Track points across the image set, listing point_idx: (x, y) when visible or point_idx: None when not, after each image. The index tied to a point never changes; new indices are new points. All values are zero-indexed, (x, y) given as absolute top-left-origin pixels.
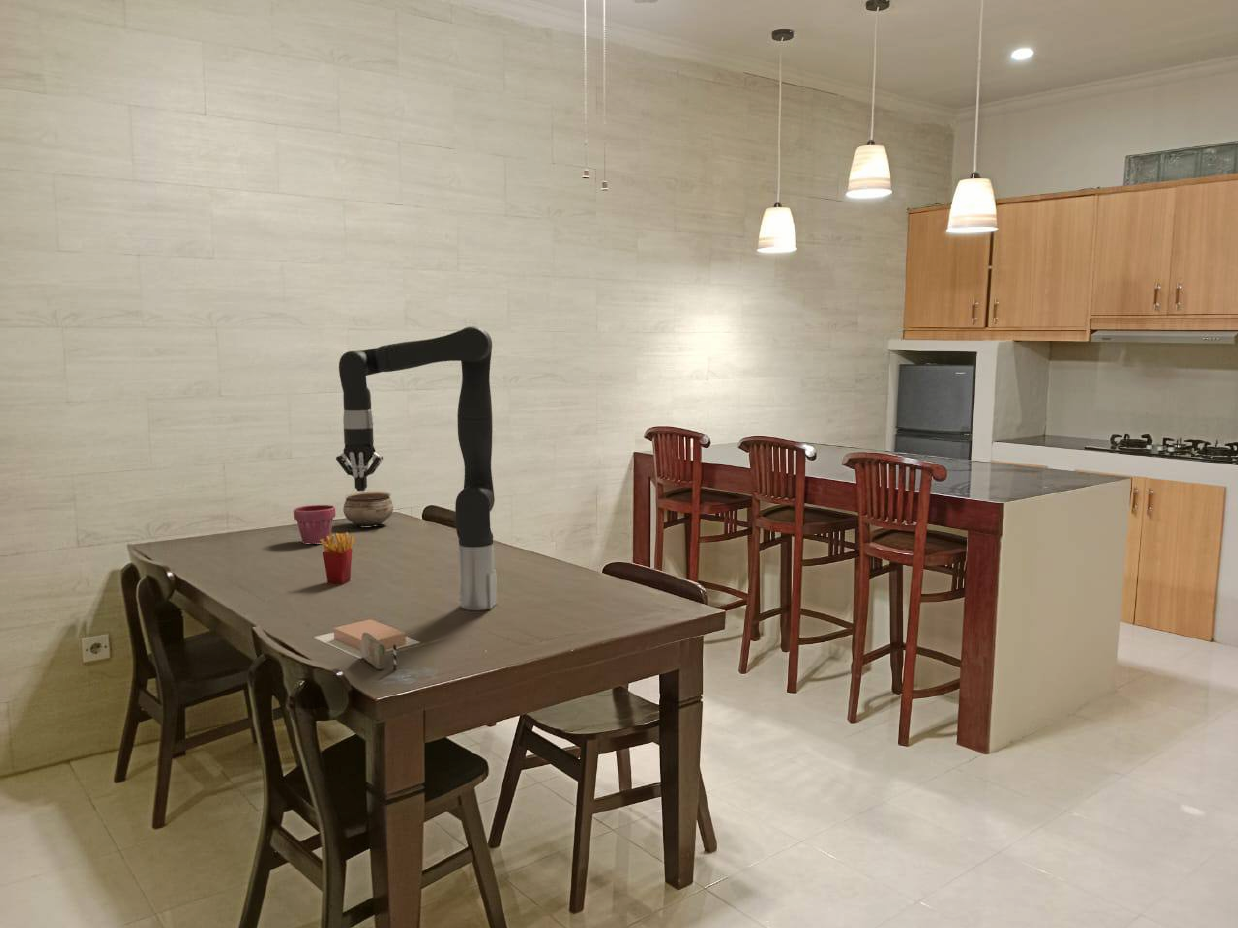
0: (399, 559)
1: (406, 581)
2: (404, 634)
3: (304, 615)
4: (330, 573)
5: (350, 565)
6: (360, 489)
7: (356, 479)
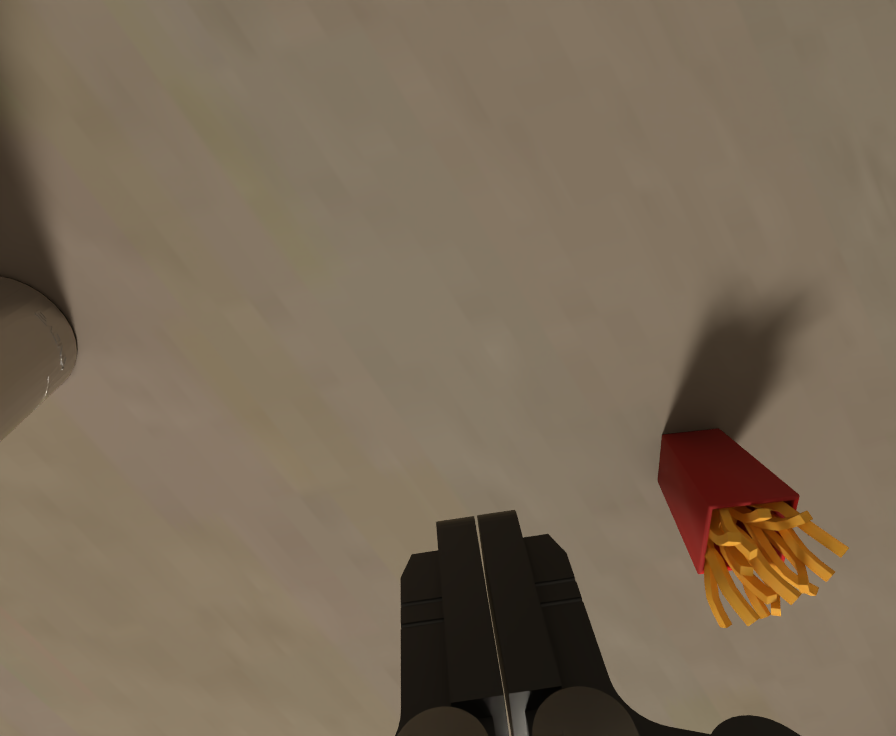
0: None
1: None
2: None
3: (612, 7)
4: (724, 450)
5: (676, 516)
6: (455, 528)
7: (546, 655)
